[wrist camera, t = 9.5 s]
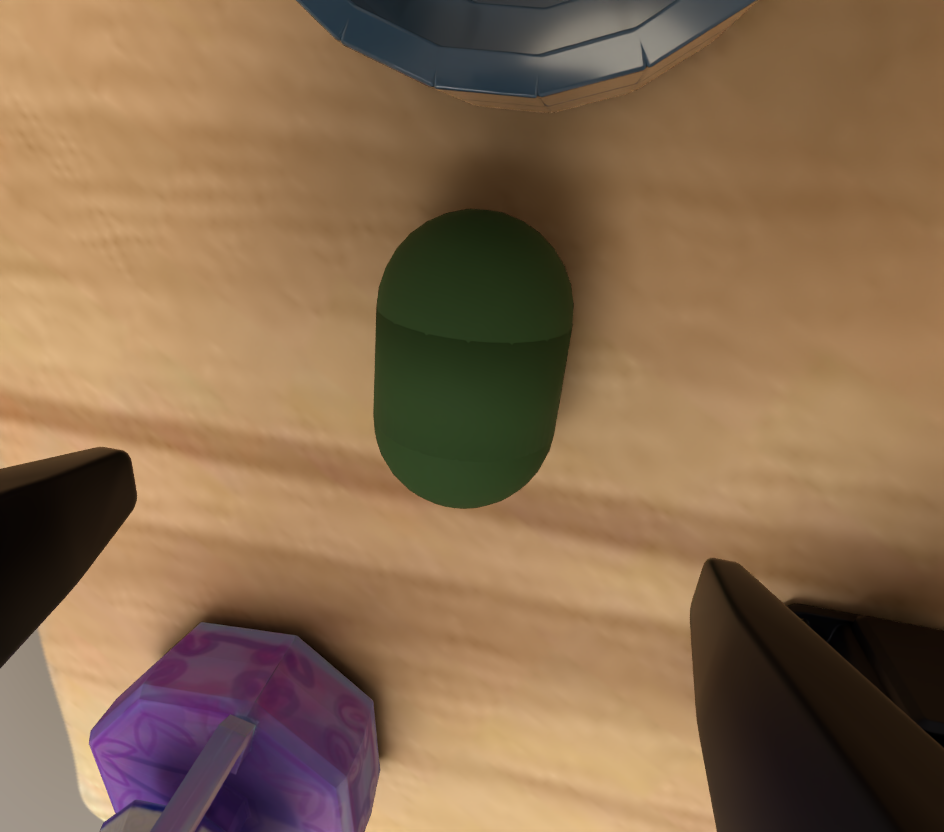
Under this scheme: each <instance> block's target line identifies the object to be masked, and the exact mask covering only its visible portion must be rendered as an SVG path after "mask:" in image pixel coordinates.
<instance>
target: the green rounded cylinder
mask: <svg viewBox="0 0 944 832" xmlns="http://www.w3.org/2000/svg"><path fill="white" fill-rule="evenodd" d="M573 307H574V303H573V296H572V288H571V283H570V280H569V277H568V274H567V272H566V269H565V266H564V264H563V263H562V261H561V259H560V258H559V256H558V254H557V253H556V251H555V249H554V248H553V247H552V246H551V245H550V244H549V243H548V242H547V240H546V239H545V238H544V237H543V236H542V235H541V234H540V233H539V232H538V231H536V230H535V229H533V228H532V227H531V226H529V225H528V224H526V223H525V222H524V221H522V220H519V219H517V218H514V217H512V216H510V215H507V214H505V213H502V212H498V211H491V210H482V209H465V210H460V211H455V212H450V213H446V214H443V215H441V216H439V217H437V218H434V219H432V220H430V221H427V222H426V223H424V224H423V225H422V226H420V227H419V228H417V229H416V230H415V231H413V232H412V233H410V234H409V236H408V237H407V238H406V239H405V240H404V241H403V242H402V243H401V244H400V245H399V246H398V248H397V249H396V251H395V252H394V254H393V256H392V258H391V259H390V261H389V263H388V264H387V266H386V268H385V271H384V274H383V277H382V280H381V283H380V286H379V292H378V299H377V309H376V345H375V380H374V427H375V434H376V439H377V443H378V446H379V449H380V452H381V455H382V456H383V458H384V460H385V461H386V463H387V465H388V466H389V468H390V470H391V471H392V473H393V474H394V475H395V476H396V477H397V478H398V479H399V480H400V481H401V482H402V483H403V484H404V485H405V486H406V487H407V488H408V489H409V490H410V491H412V492H413V493H415V494H416V495H418V496H420V497H422V498H424V499H426V500H428V501H430V502H433V503H435V504H438V505H442V506H445V507H451V508H463V509H466V508H477V507H483V506H486V505H490V504H493V503H496V502H499V501H502V500H504V499H506V498H508V497H509V496H511V495H512V494H514V493H515V492H517V491H519V490H520V489H521V488H522V487H524V486H525V485H526V484H527V483H528V482H529V481H530V480H531V479H532V477H533V476H534V475H535V474H536V473H537V472H538V470H539V469H540V467H541V465H542V463H543V461H544V460H545V458H546V456H547V454H548V452H549V450H550V447H551V443H552V440H553V436H554V431H555V425H556V419H557V413H558V407H559V402H560V396H561V390H562V384H563V378H564V372H565V366H566V361H567V355H568V349H569V343H570V337H571V331H572V325H573V324H572V322H573Z"/></svg>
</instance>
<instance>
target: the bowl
mask: <svg viewBox="0 0 944 832" xmlns="http://www.w3.org/2000/svg"><path fill="white" fill-rule="evenodd" d="M296 1H297V2H298V3H299V4H300V5H301V6H302V7H303V8H304V9H305V10H306V11H307V12H308V13H309V14H310V15H311V16H312V17H313V18H314V19H315V20H316V21H317V22H318V23H319V24H320V25H321V26H322V27H323V28H324V29H325V30H326V31H327V32H328V33H329V34H330V35H331V36H333V37H334V38H335V39H336V40H337V41H339V42H341V43H342V44H343V45H344V46H346V47H348V48H350V49H352V50H354V51H356V52H358V53H360V54H362V55H364V56H367V57H369V58H371V59H373V60H375V61H377V62H379V63H381V64H383V65H385V66H387V67H389V68H391V69H393V70H395V71H398V72H400V73H402V74H404V75H406V76H408V77H410V78H412V79H414V80H416V81H418V82H420V83H422V84H424V85H426V86H429V87H431V88H433V89H435V90H438V91H440V92H443V93H445V94H447V95H450V96H452V97H455V98H457V99H459V100H462V101H464V102H467V103H469V104H473V105H475V106H480V107H491V108H501V109H512V110H522V111H532V112H543V113H551V112H552V113H555V112H559V111H563V110H567V109H571V108H574V107H578V106H582V105H586V104H590V103H594V102H598V101H602V100H606V99H610V98H614V97H618V96H622V95H625V94H629V93H631V92H632V91H635V90H638V89H639V88H641V87H642V86H644V85H645V84H647V83H649V82H650V81H652V80H653V79H655V78H657V77H658V76H660V75H661V74H663V73H665V72H666V71H668V70H669V69H671V68H673V67H674V66H676V65H677V64H679V63H681V62H682V61H684V60H685V59H687V58H689V57H690V56H692V55H693V54H695V53H697V52H698V51H700V50H701V49H703V48H704V47H706V46H708V45H709V44H710V43H712V42H713V41H714V40H715V39H717V38H718V37H719V36H720V35H721V34H722V33H723V32H724V31H725V30H726V29H727V28H729V27H730V26H731V25H732V24H733V23H734V22H735V21H736V20H737V19H738V18H740V17H741V16H742V15H743V14H744V13H745V12H746V11H747V10H748V9H749V8H750V7H751V6H753V5H754V4H755V3H756V2H757V1H758V0H296Z"/></svg>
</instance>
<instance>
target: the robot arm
mask: <svg viewBox="0 0 944 832" xmlns="http://www.w3.org/2000/svg"><path fill="white" fill-rule="evenodd" d="M136 501H137V491H136V485H135V479H134V473H133V467H132V461H131V458H130V456H129V455H128V453H126V452H125V451H123V450H118V449H112V448H107V447H96V448H92V449H88V450H83V451H79V452H74V453H70V454H65V455H61V456H56V457H52V458H47V459H43V460H38V461H34V462H29V463H25V464H20V465H16V466H11V467H7V468H2V469H0V668H1V667H2V666H3V665H4V664H5V663H6V662H7V661H8V659H9V658H10V657H11V656H12V655H13V654H14V653H15V652H16V651H17V650H18V649H19V647H20V646H21V645H22V644H23V643H24V642H25V641H26V640H27V639H28V637H29V636H30V635H31V634H32V633H33V632H34V631H35V630H36V629H37V628H38V627H39V626H40V624H41V623H42V622H43V621H44V620H45V619H46V618H47V617H48V616H49V615H50V613H51V612H52V611H53V610H54V609H55V608H56V607H57V606H58V605H59V604H60V603H61V601H62V600H63V599H64V598H65V597H66V596H67V595H68V594H69V592H70V591H71V590H72V589H73V588H74V587H75V585H76V584H77V583H78V582H79V580H80V579H81V578H82V577H83V575H84V574H85V573H86V572H87V570H88V569H89V568H90V566H91V565H92V564H93V562H94V561H95V560H96V558H97V557H98V556H99V554H100V553H101V552H102V550H103V549H104V548H105V546H106V545H107V544H108V542H109V541H110V540H111V539H112V537H113V536H114V535H115V533H116V532H117V531H118V529H119V528H120V527H121V525H122V524H123V523H124V521H125V520H126V519H127V517H128V516H129V515H130V513H131V512H132V511H133V509H134V507H135V504H136ZM800 618H803V620H801V619H800ZM690 630H691V645H692V660H693V675H694V691H695V705H696V717H697V724H698V731H699V737H700V743H701V748H702V753H703V759H704V764H705V769H706V775H707V780H708V786H709V791H710V796H711V802H712V807H713V813H714V818H715V823H716V829H717V832H944V631H943V630H938V629H933V628H927V627H922V626H917V625H912V624H906V623H901V622H896V621H891V620H885V619H880V618H875V617H870V616H861V615H855V614H850V613H845V612H840V611H835V610H829V609H824V608H819V607H814V606H808V605H803V604H792V605H789V606H786V605H785V604H784V603H782V602H781V601H780V600H779V599H778V598H777V597H776V596H775V595H774V594H772V593H771V592H770V591H769V590H768V589H767V588H766V587H765V586H764V585H762V584H761V583H760V582H759V581H758V580H757V579H756V578H755V577H754V576H753V575H751V574H750V573H749V572H748V571H747V570H746V569H745V568H744V567H743V566H741V565H740V564H739V563H737V562H733V561H727V560H721V559H716V558H710V559H708V560H707V561H706V562H705V563H704V565H703V568H702V571H701V574H700V577H699V581H698V584H697V587H696V590H695V593H694V596H693V599H692V603H691V608H690Z"/></svg>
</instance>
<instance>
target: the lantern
mask: <svg viewBox="0 0 944 832" xmlns="http://www.w3.org/2000/svg"><path fill="white" fill-rule="evenodd" d="M89 745H90V748H91V750H92V753H93V755H94V758H95V761H96V763H97V766H98V769H99V771H100V774H101V777H102V779H103V782H104V784H105V787H106V790H107V792H108V795H109V798H110V800H111V803H112V806H113V808H114V811H115V813H116V814H115V815H113V816H112V817H111V818H109V819H108V820H107V821H105V822H104V823H103V825H102V827H101V829H100V832H364V831H365V829H366V826H367V823H368V821H369V818H370V816H371V812H372V807H373V802H374V797H375V792H376V787H377V782H378V778H379V773H380V764H379V754H378V744H377V733H376V723H375V713H374V703H373V700H372V699H371V698H369V697H368V696H367V695H366V694H365V693H364V692H362V691H361V690H360V689H359V688H358V687H357V686H355V685H354V684H353V683H352V682H351V681H350V680H348V679H347V678H346V677H345V676H344V675H343V674H341V673H340V672H339V671H338V670H337V669H336V668H334V667H333V666H332V665H331V664H330V663H328V662H327V661H326V660H325V659H324V658H323V657H321V656H320V655H319V654H318V653H317V652H316V651H314V650H313V649H312V648H311V647H310V646H309V645H307V644H306V643H305V642H304V641H303V640H302V639H300V638H299V637H298V636H297V635H290V634H283V633H275V632H268V631H261V630H254V629H247V628H240V627H233V626H226V625H219V624H212V623H205V622H201V623H200V624H198V625H197V626H196V627H195V628H194V629H193V630H192V631H191V632H190V633H188V634H187V635H186V636H185V637H184V638H183V639H182V640H181V641H180V642H178V643H177V644H176V645H175V646H174V647H173V648H172V649H171V650H170V651H168V652H167V653H166V654H165V655H164V656H163V657H162V658H161V659H160V660H159V661H157V662H156V663H155V664H154V665H153V666H152V667H151V668H150V669H149V670H148V671H146V672H145V673H144V674H143V675H142V676H141V677H140V678H139V679H138V680H137V681H136V682H134V683H133V684H132V685H131V686H130V687H129V688H128V689H127V690H126V691H125V692H124V693H122V694H121V695H120V696H119V697H118V698H117V699H116V700H115V701H114V703H113V704H112V705H111V706H110V708H109V709H108V710H107V711H106V713H105V714H104V715H103V716H102V718H101V719H100V720H99V721H98V723H97V724H96V725H95V726H94V727H93V729H92V730H91V733H90V739H89Z"/></svg>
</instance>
